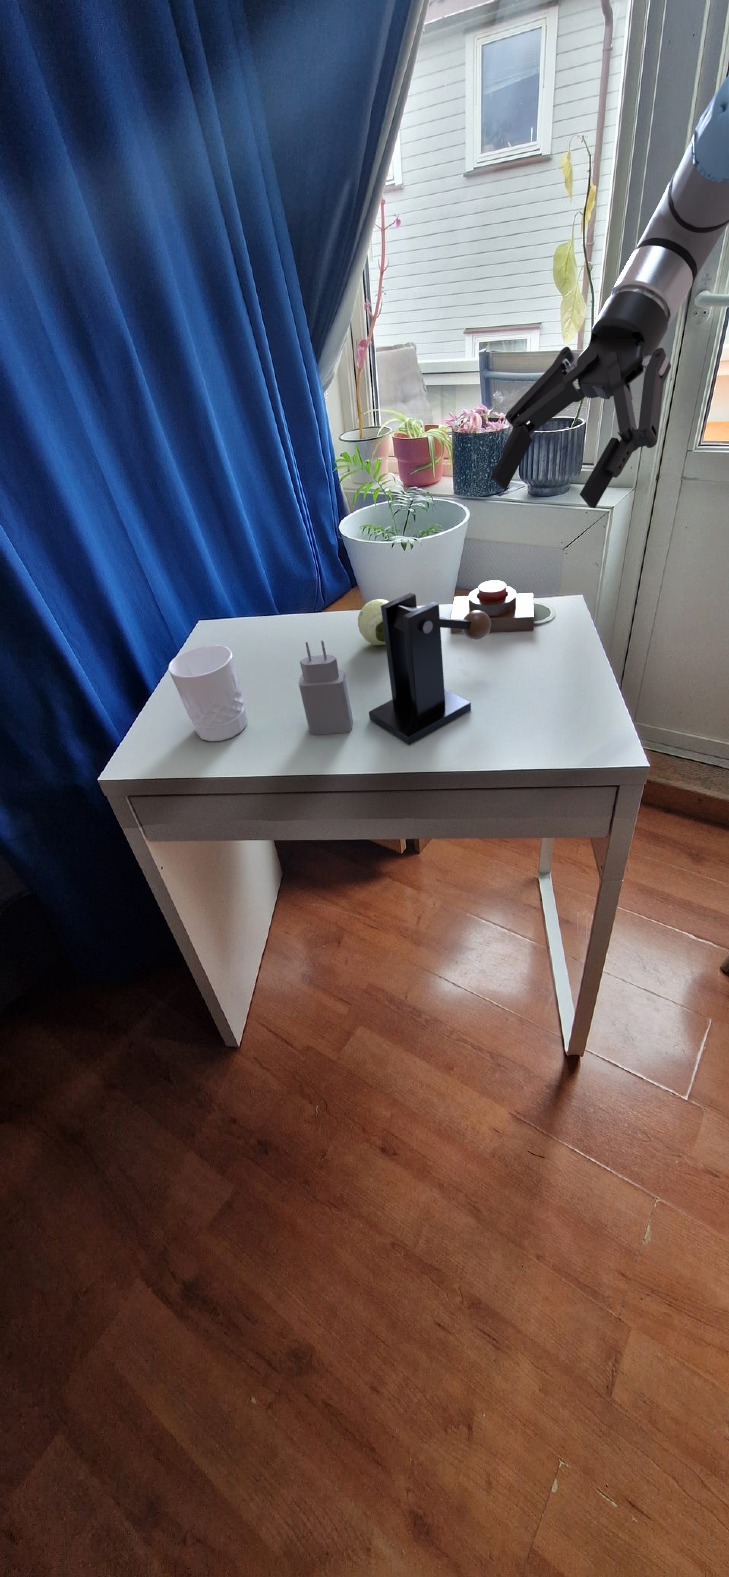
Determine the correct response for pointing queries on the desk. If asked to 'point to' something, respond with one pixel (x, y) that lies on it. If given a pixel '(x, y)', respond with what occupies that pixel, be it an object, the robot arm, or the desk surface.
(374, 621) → the tennis ball
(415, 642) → the bracket
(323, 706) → the power adapter
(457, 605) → the button block
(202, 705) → the white cup
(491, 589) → the button
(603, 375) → the robot arm
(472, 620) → the lever
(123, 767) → the desk surface
